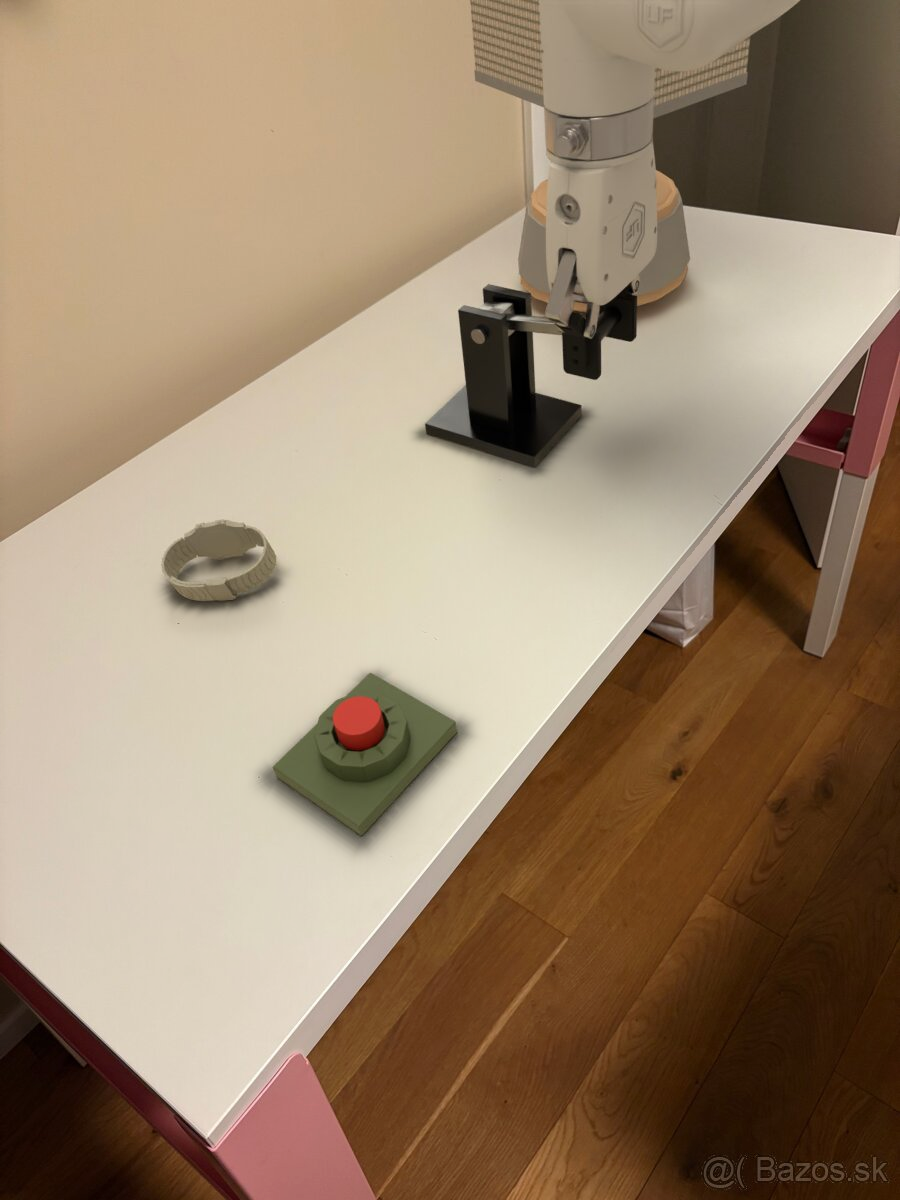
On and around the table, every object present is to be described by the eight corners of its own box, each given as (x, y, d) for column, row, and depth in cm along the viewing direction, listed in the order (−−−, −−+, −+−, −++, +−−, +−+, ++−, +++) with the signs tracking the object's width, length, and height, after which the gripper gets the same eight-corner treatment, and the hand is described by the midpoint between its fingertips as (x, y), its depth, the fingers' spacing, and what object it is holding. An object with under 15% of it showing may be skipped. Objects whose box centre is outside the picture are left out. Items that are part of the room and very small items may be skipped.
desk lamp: (479, 280, 112) (447, -101, 86) (606, 228, 118) (612, -142, 92) (596, 353, 98) (599, -74, 72) (733, 290, 104) (782, -124, 78)
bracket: (581, 415, 91) (581, 290, 81) (534, 467, 86) (528, 341, 77) (476, 386, 96) (464, 266, 87) (426, 434, 91) (408, 312, 82)
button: (359, 704, 65) (355, 688, 64) (394, 726, 63) (390, 709, 62) (327, 736, 63) (322, 720, 62) (362, 758, 62) (358, 742, 60)
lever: (623, 328, 79) (620, 302, 78) (592, 361, 76) (589, 333, 75) (501, 317, 86) (496, 292, 84) (468, 346, 83) (463, 321, 81)
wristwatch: (282, 548, 81) (268, 503, 78) (276, 600, 77) (261, 555, 73) (177, 560, 82) (159, 515, 78) (165, 612, 77) (145, 568, 74)
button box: (372, 682, 70) (366, 655, 68) (457, 731, 66) (453, 705, 64) (275, 776, 65) (265, 751, 63) (361, 836, 61) (353, 811, 59)
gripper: (588, 180, 60) (592, 420, 73) (699, 89, 69) (685, 316, 82) (488, 168, 64) (508, 399, 76) (606, 83, 73) (607, 301, 86)
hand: (600, 353), depth 79 cm, fingers closed on lever, 5 cm apart
